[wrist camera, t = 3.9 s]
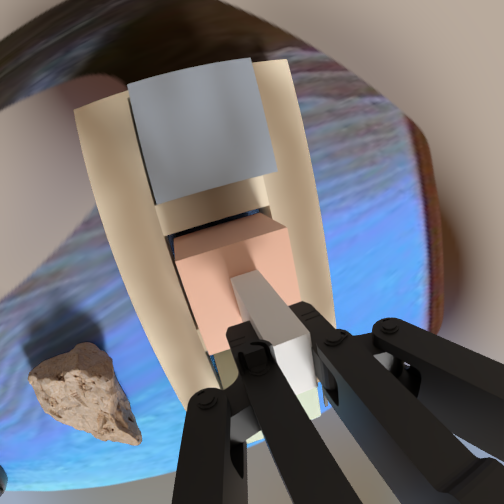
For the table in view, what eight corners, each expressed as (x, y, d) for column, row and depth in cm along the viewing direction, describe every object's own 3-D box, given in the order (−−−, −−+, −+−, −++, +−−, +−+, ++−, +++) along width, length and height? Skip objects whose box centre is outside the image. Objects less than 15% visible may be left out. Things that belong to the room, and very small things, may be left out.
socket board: (190, 403, 26) (194, 425, 23) (85, 116, 17) (73, 110, 15) (325, 355, 29) (340, 372, 26) (272, 70, 20) (286, 59, 17)
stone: (114, 333, 22) (105, 369, 18) (146, 424, 26) (147, 461, 21) (26, 339, 20) (6, 371, 16) (70, 426, 24) (63, 460, 19)
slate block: (160, 194, 18) (156, 204, 14) (137, 104, 16) (127, 84, 12) (251, 169, 19) (278, 171, 15) (230, 82, 17) (250, 57, 13)
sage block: (232, 401, 24) (247, 443, 20) (212, 351, 22) (224, 394, 18) (297, 378, 25) (320, 415, 21) (286, 325, 23) (313, 361, 19)
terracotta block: (199, 316, 22) (209, 355, 17) (173, 238, 20) (175, 261, 15) (277, 290, 23) (304, 322, 18) (260, 212, 21) (287, 227, 16)
